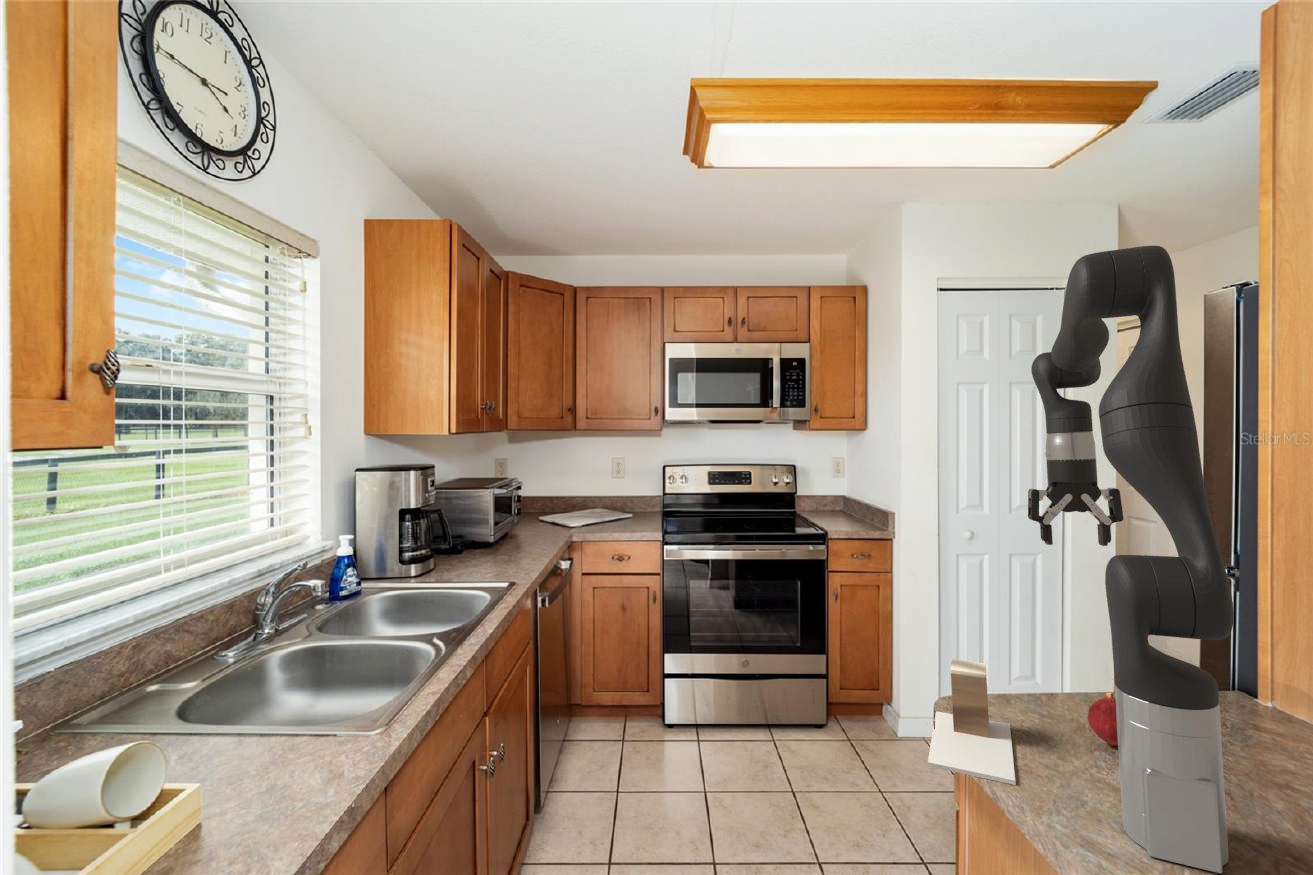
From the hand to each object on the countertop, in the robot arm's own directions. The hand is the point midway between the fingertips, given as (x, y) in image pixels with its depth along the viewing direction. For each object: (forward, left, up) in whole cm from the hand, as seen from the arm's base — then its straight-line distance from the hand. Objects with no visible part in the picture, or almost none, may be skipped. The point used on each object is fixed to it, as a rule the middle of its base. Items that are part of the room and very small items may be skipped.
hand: (1075, 544), depth 106 cm
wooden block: (-23, +18, -27) cm, 40 cm away
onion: (-19, -1, -28) cm, 34 cm away
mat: (-28, +18, -28) cm, 43 cm away
